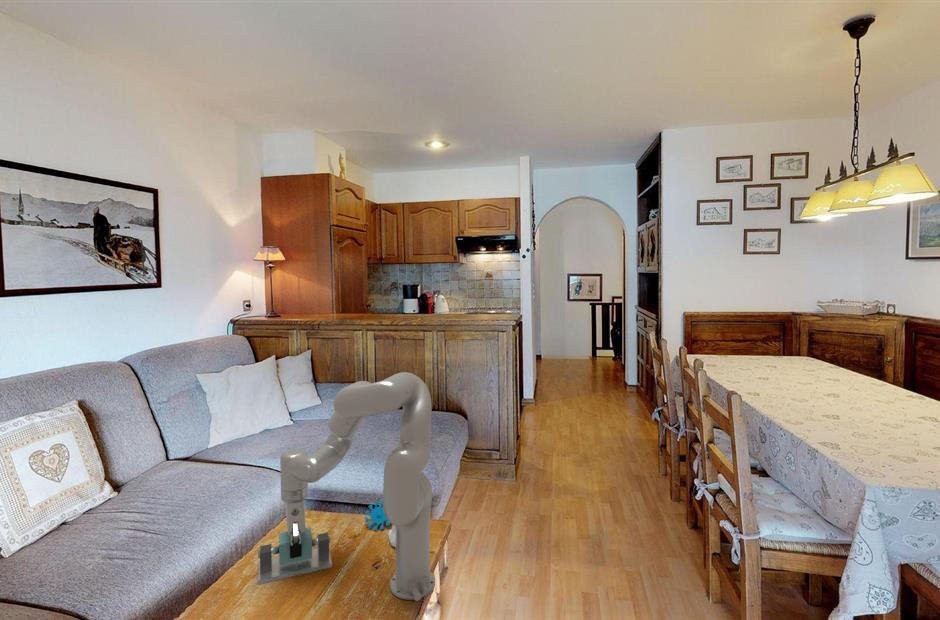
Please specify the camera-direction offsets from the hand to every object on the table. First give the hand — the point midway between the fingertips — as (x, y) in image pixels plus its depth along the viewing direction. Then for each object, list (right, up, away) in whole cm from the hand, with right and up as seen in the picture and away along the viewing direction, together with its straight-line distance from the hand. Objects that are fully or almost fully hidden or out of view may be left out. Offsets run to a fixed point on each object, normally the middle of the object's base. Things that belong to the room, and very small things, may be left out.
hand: (295, 548), depth 133 cm
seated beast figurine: (+29, -5, +13) cm, 33 cm away
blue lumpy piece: (+21, -5, +23) cm, 32 cm away
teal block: (0, -2, 0) cm, 2 cm away
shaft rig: (0, -5, 0) cm, 5 cm away
